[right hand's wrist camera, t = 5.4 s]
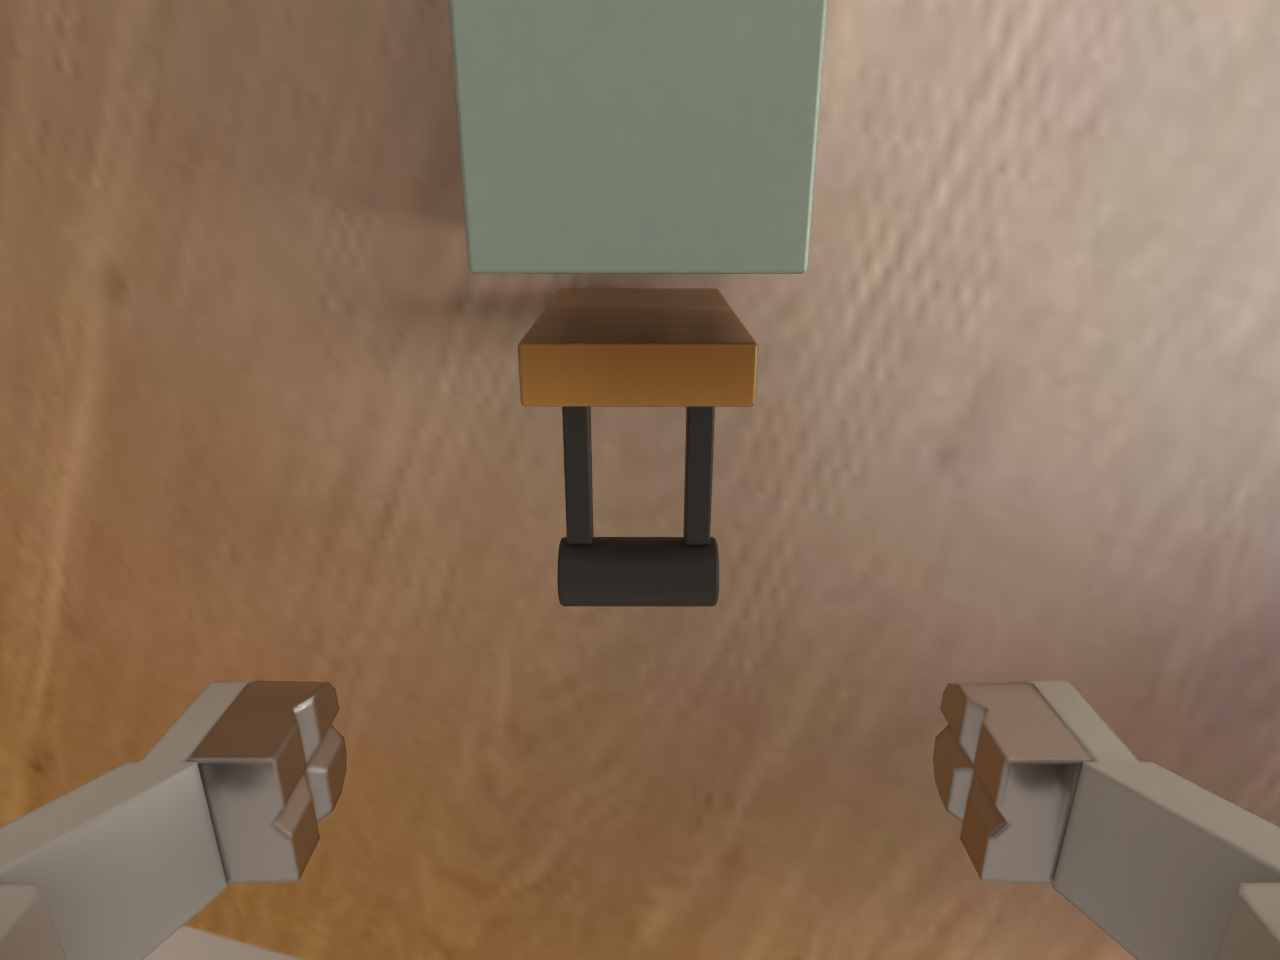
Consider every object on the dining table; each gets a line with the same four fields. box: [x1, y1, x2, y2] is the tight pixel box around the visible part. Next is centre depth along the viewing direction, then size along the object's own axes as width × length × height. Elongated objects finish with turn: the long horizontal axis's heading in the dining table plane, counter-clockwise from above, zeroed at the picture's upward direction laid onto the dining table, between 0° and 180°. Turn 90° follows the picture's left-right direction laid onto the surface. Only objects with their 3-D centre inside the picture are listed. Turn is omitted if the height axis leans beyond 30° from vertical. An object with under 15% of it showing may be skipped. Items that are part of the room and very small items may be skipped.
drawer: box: [518, 288, 758, 606], centre depth 16 cm, size 22×4×8 cm, turn 0°
